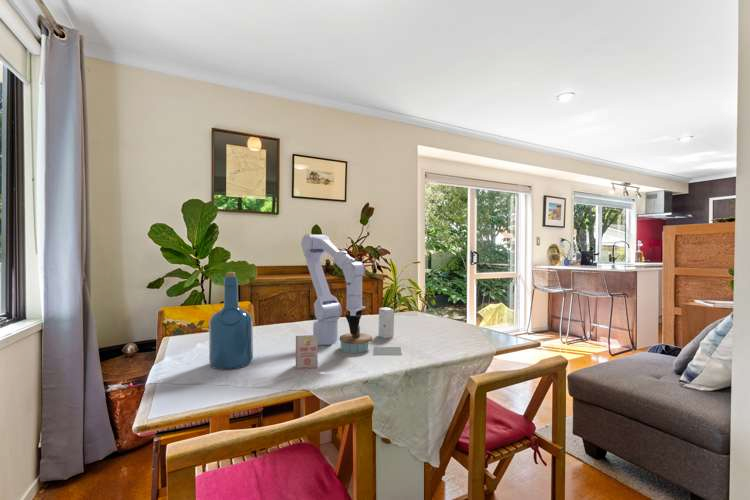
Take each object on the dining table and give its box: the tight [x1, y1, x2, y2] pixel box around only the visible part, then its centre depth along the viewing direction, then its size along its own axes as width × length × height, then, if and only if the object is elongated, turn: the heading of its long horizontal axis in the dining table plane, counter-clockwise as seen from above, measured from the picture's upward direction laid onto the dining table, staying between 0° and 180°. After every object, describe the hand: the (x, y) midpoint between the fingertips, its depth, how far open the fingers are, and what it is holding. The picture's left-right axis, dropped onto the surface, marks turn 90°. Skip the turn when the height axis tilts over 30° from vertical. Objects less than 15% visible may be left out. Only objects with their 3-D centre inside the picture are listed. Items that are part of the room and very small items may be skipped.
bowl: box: [340, 341, 369, 354], centre depth 136 cm, size 10×10×4 cm
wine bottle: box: [208, 271, 254, 370], centre depth 120 cm, size 14×13×30 cm
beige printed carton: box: [295, 334, 319, 370], centre depth 118 cm, size 4×7×10 cm, turn 100°
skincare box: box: [378, 306, 395, 339], centre depth 153 cm, size 6×4×12 cm
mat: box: [372, 346, 403, 356], centre depth 132 cm, size 10×10×1 cm
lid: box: [339, 325, 373, 344], centre depth 135 cm, size 12×12×5 cm
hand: (354, 331), depth 135 cm, fingers open, 7 cm apart
